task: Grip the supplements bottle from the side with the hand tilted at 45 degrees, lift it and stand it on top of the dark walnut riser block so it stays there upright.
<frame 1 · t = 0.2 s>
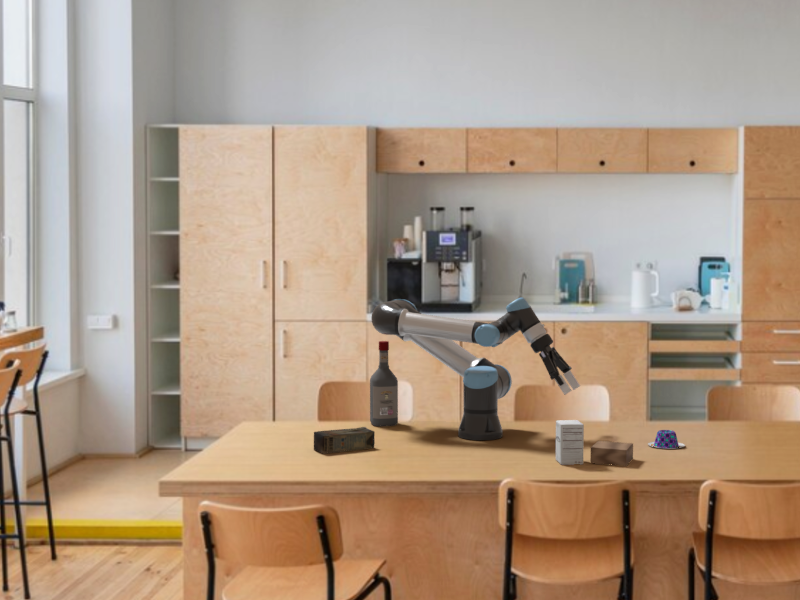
hand: (572, 390, 421), 16 cm above the table, tool tilted 35°, fingers open, 13 cm apart
supplement box: (569, 463, 379), on the table
beverage carton: (344, 450, 400), on the table
liquor: (383, 424, 444), on the table
riser block: (611, 461, 380), on the table
pudding: (666, 447, 404), on the table
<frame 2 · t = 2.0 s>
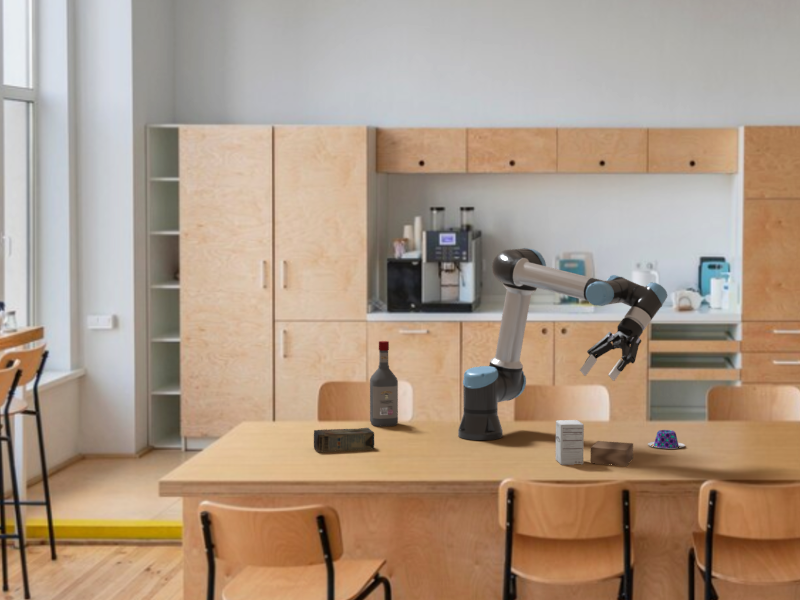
hand: (596, 375, 383), 26 cm above the table, tool tilted 45°, fingers open, 13 cm apart
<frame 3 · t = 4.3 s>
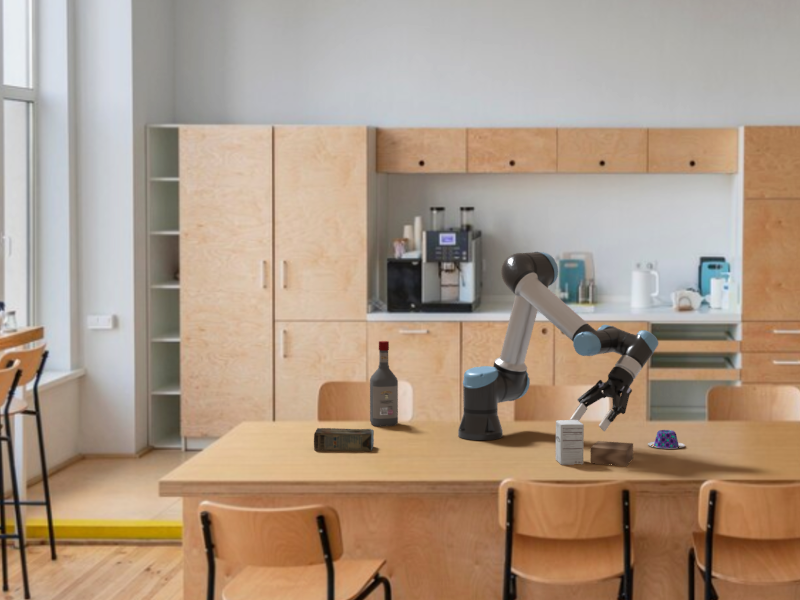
hand: (587, 425, 380), 11 cm above the table, tool tilted 45°, fingers open, 13 cm apart
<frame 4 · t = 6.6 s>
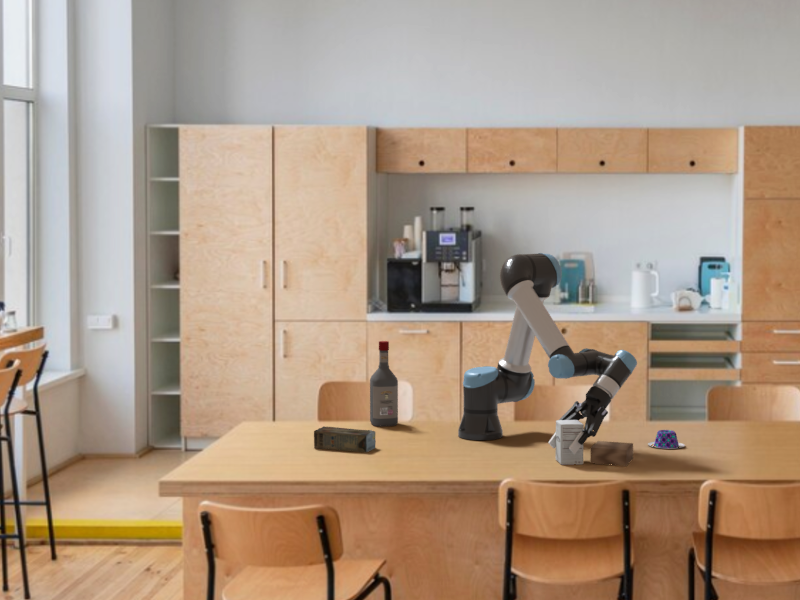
hand: (561, 448, 377), 5 cm above the table, tool tilted 45°, fingers closed on supplement box, 9 cm apart
supplement box: (569, 462, 379), on the table, touching gripper
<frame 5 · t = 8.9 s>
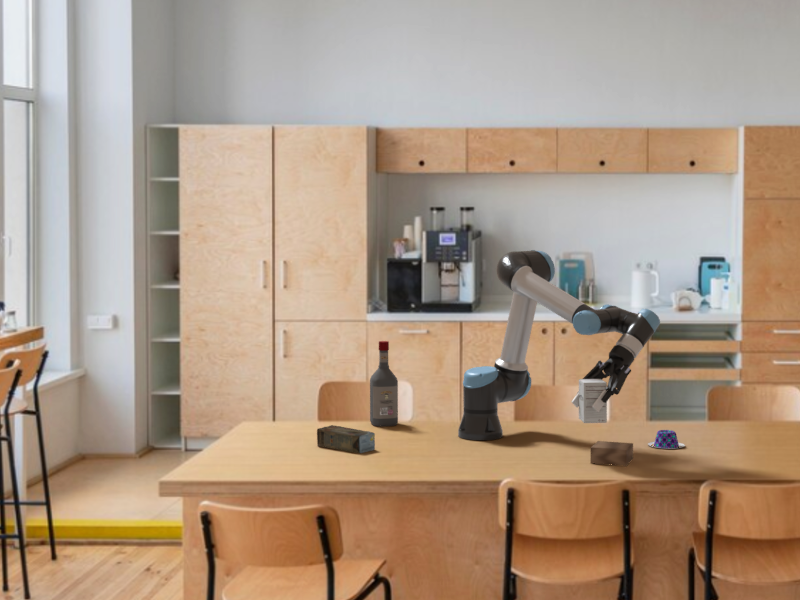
hand: (584, 406, 376), 18 cm above the table, tool tilted 45°, fingers closed on supplement box, 9 cm apart
supplement box: (592, 421, 378), point 13 cm above the table, touching gripper
when the fingers open (11 cm above the table, at t = 11.1 s): supplement box drops 1 cm, resting on riser block.
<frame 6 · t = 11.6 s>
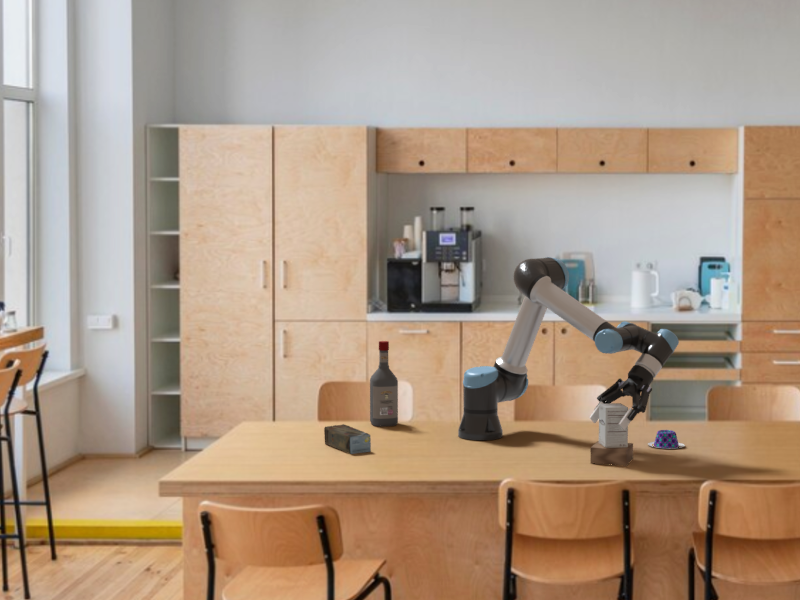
hand: (606, 423, 378), 12 cm above the table, tool tilted 45°, fingers open, 13 cm apart
supplement box: (613, 446, 380), point 5 cm above the table, touching riser block
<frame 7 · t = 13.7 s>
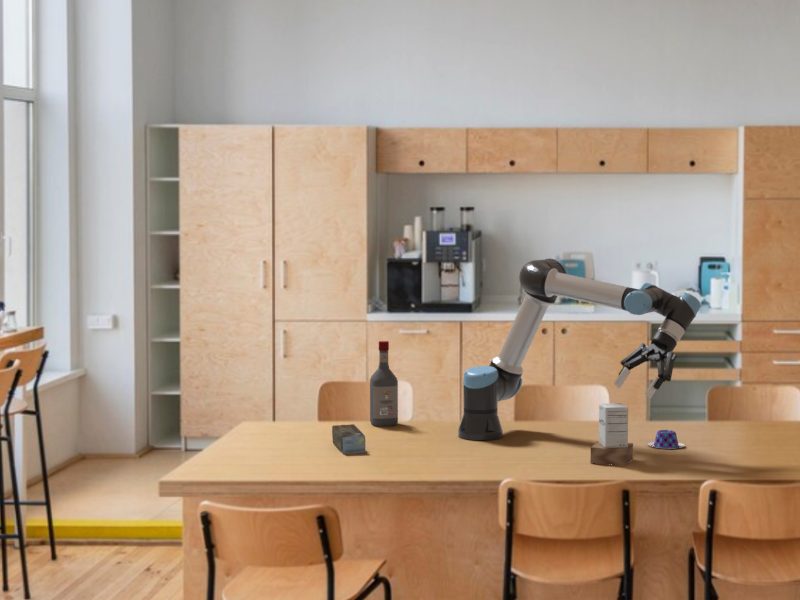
hand: (631, 391, 386), 21 cm above the table, tool tilted 40°, fingers open, 13 cm apart
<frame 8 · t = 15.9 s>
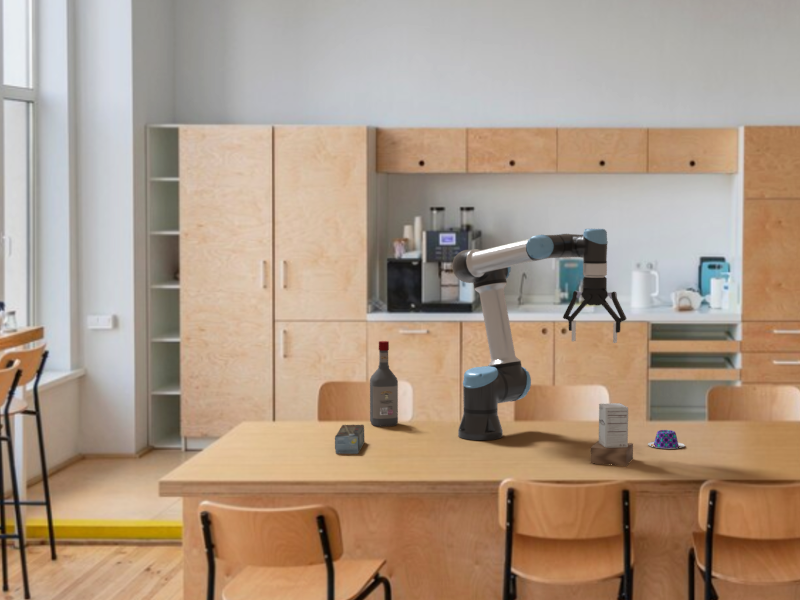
hand: (594, 341, 399), 35 cm above the table, tool pointing down, fingers open, 13 cm apart
at the end: supplement box inside the target area on the riser block (0.4 cm from its centre), point 4.8 cm above the riser block's base; supplement box tilted 0°; the gripper is holding nothing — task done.
